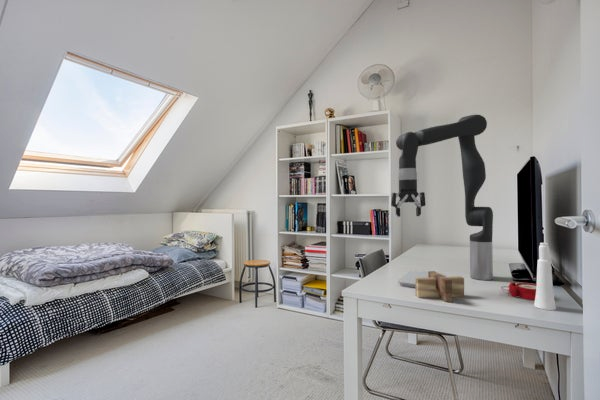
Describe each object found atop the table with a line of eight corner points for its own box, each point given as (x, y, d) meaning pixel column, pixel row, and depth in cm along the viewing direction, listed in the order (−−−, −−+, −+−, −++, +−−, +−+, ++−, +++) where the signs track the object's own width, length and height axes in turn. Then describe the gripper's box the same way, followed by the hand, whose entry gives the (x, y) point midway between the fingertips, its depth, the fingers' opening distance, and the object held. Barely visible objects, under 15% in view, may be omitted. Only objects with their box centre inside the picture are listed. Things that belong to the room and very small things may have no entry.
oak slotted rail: (415, 295, 126) (415, 277, 126) (460, 294, 126) (460, 276, 126) (418, 297, 123) (417, 279, 123) (464, 296, 124) (464, 278, 124)
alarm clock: (553, 293, 114) (504, 278, 122) (548, 309, 115) (500, 294, 123) (549, 286, 123) (504, 273, 131) (545, 301, 124) (500, 287, 132)
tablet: (446, 278, 153) (446, 273, 153) (435, 292, 131) (435, 286, 131) (411, 274, 162) (411, 269, 162) (396, 286, 140) (395, 281, 140)
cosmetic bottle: (540, 309, 108) (539, 244, 107) (530, 304, 113) (529, 241, 113) (560, 310, 107) (559, 244, 106) (549, 304, 113) (548, 241, 112)
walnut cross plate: (428, 290, 131) (428, 271, 131) (434, 290, 132) (434, 271, 132) (445, 301, 117) (445, 280, 117) (452, 301, 118) (451, 279, 118)
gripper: (394, 179, 136) (395, 217, 136) (427, 178, 137) (428, 216, 137) (388, 180, 144) (389, 216, 144) (420, 179, 144) (420, 215, 144)
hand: (408, 216), depth 140 cm, fingers open, 8 cm apart
